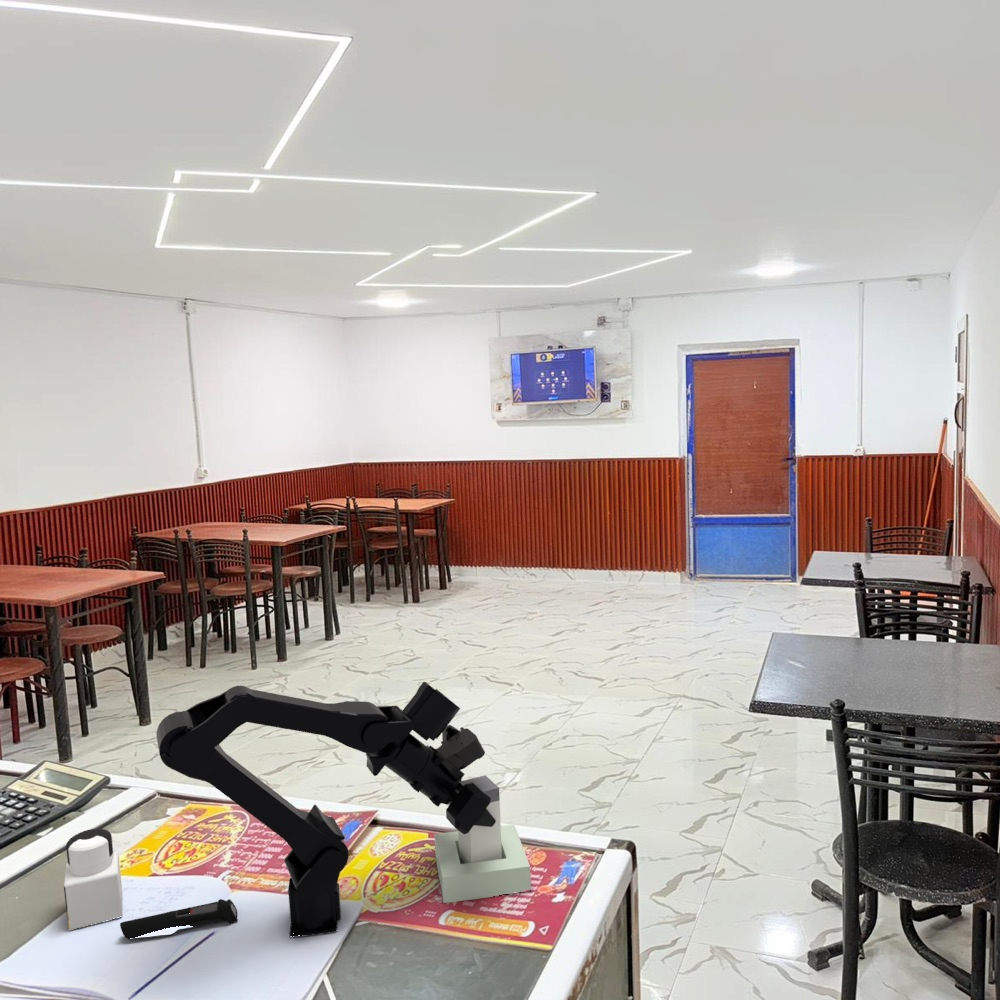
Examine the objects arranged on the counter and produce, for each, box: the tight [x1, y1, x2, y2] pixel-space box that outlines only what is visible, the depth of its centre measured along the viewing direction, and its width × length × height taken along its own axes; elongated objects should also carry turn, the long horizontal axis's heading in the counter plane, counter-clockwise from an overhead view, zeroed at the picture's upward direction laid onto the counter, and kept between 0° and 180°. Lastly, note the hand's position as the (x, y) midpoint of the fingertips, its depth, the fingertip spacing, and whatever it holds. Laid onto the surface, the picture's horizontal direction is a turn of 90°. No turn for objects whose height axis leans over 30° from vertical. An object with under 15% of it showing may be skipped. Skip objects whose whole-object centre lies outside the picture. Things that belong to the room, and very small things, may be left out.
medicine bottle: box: [63, 828, 124, 931], centre depth 129 cm, size 7×7×12 cm
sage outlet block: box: [433, 824, 532, 904], centre depth 135 cm, size 13×13×4 cm
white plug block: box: [456, 774, 502, 864], centre depth 135 cm, size 5×5×12 cm
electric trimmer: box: [119, 898, 239, 940], centre depth 125 cm, size 4×16×3 cm, turn 107°
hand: (486, 816), depth 135 cm, fingers closed on white plug block, 5 cm apart
